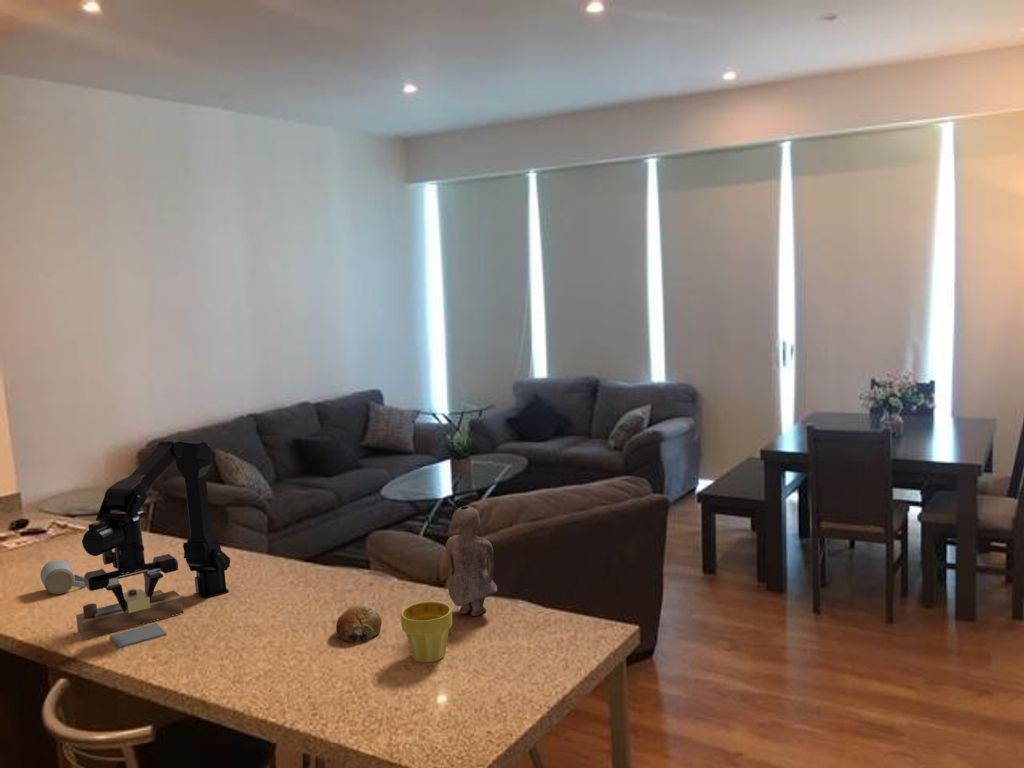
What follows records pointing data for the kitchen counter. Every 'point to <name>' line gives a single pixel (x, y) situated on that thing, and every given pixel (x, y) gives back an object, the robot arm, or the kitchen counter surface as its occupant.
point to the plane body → (126, 615)
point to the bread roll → (358, 624)
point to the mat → (138, 635)
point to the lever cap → (136, 600)
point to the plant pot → (427, 629)
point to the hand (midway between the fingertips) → (135, 608)
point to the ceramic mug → (60, 577)
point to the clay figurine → (469, 563)
